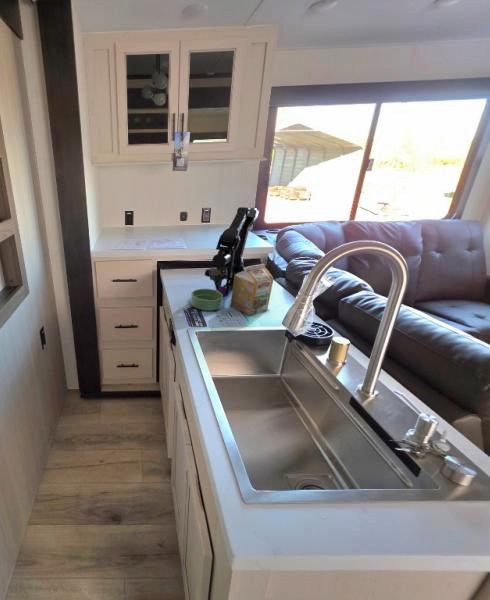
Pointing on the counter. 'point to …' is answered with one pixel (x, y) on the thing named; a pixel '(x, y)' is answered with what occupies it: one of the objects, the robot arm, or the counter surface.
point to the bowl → (206, 299)
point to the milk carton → (252, 290)
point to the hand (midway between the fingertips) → (222, 294)
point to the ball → (222, 290)
